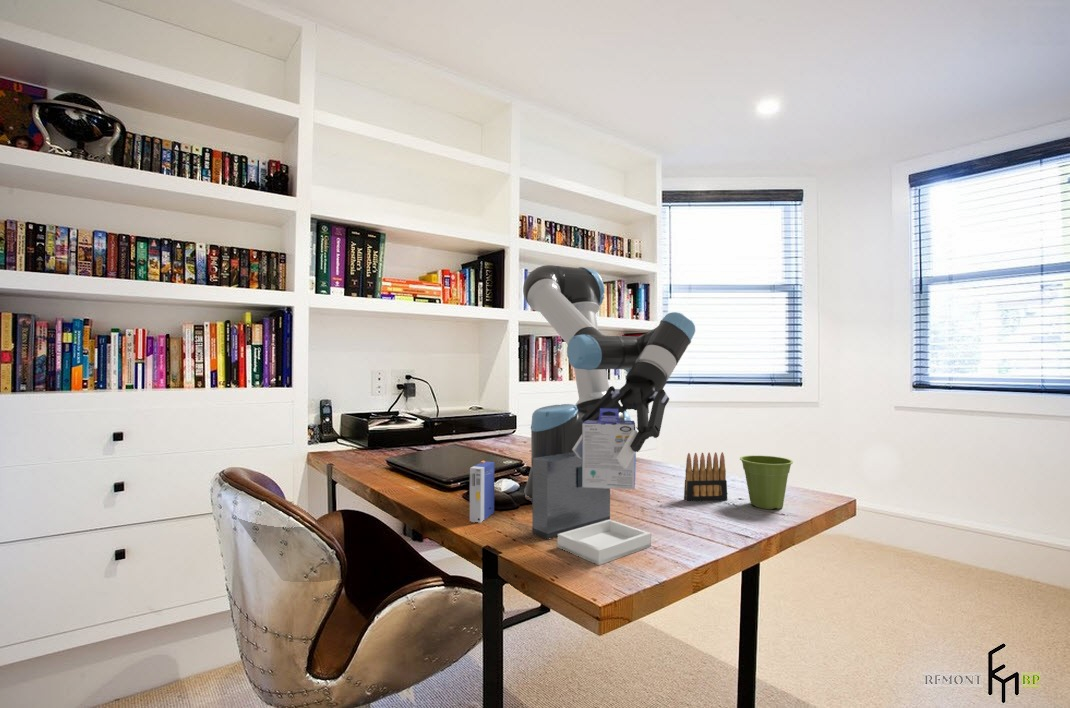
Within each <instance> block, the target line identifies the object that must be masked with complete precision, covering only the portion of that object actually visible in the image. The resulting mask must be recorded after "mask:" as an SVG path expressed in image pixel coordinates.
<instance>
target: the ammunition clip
mask: <svg viewBox="0 0 1070 708" xmlns="http://www.w3.org/2000/svg"><path fill="white" fill-rule="evenodd" d="M725 459H726V458H725V454H724V452H721V454H720V456H719V458H718V453H717V452H714V454H713V458H712V456H711V453H710V452H708V453H707V456H706V458H705V454H704V452H701V454H700V458H699V456H698V454H697V452H695V453H694V455H693V461H692V456H691V453H690V452H688V454H687V455H686V463H685V466H686V467H685V479H684V491H683V492H684V493H683V500H684V501H686V502H688V503H689V502H718V501H728V486H727V478H726V477H727V473H726V472H727V471H726V460H725ZM712 461H713V462H712Z"/></svg>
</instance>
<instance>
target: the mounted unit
mask: <svg viewBox="0 0 1070 708" xmlns="http://www.w3.org/2000/svg"><path fill="white" fill-rule="evenodd" d="M531 503H532V515H531V516H532V519H531V522H532V526H531V527H532V530H531V531H532V533H533V534H532V533H531V534H532V535H535V534H536V535H535V536H537V535H538V536H537V537H539V536H540V538H542V537H543V538H542V539H544V538H546V539H548V540H550V539H549V538H552V539H554V538H553V537H555V538H558V537H557V536H558V534H560V533H563V532H567V531H570V530H574V529H577V528H581V527H584V526H588V525H591V524H595V523H598V522H602V521H605V520H609V519H610V520H611V488H588V487H582V459H581V458H578V456H577V455H576V454H575V453H574V452H570V453H564V454H557V455H551V456H544V457H538V458H533V498H532V502H531ZM546 539H545V540H546Z"/></svg>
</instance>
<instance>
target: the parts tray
mask: <svg viewBox="0 0 1070 708" xmlns="http://www.w3.org/2000/svg"><path fill="white" fill-rule="evenodd" d="M651 547H652V532H649V531H646V530H643V529H639V528H636V527H633V526H630V525H628V524H625V523H621V522H618V521H616V520H613V519H611V518H610V519H609V520H605V521H602V522H598V523H595V524H591V525H588V526H584V527H581V528H577V529H574V530H570V531H567V532H563V533H560V534H558V537H557V548H558V549H560V550H562V549H563V551H564V550H565V552H567V551H568V552H567V553H569V552H570V554H571V553H572V555H574V556H576V557H578V556H579V558H581V559H582V560H585V561H588V562H590V563H593V564H594V563H595V565H597V566H601V565H603V564H606V563H609V562H612V561H615V560H618V559H621V558H623V557H626V556H628V555H632V554H634V553H637V552H639V551H642V550H646V549H648V548H651Z"/></svg>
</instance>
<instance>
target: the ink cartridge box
mask: <svg viewBox="0 0 1070 708" xmlns="http://www.w3.org/2000/svg"><path fill="white" fill-rule="evenodd" d="M604 412H613V413H615V414H616V415H615V416H608V415H602V413H604ZM633 430H636V423H635V420H631V421H619V412H618V409H611V408H600V414H599V420H586V421H584V423H583V424H582V487H588V488H610V490H611V489H612V490H631V491H633V490H635V487H636V475H637V474H636V472H637V471H636V469H637V468H636V466H637V465H636V463H637V452H636V453H635V454H634V456H633V458H632V460H631V461H630V463H629V465H628V467H627V468H623V467H622V466H621V464H620V463H619V461H618V460H617V459H616V458H617V456H618V454H619V453H620V451H621V449H622V448H623V446H624V444H625V443H626V441H627V439H628V437H629V436H630V434H631V432H632V431H633Z"/></svg>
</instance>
